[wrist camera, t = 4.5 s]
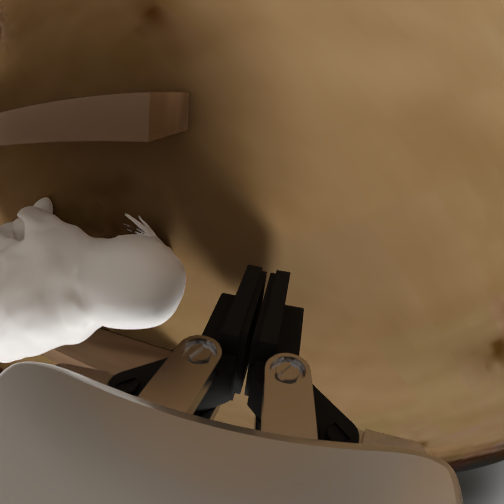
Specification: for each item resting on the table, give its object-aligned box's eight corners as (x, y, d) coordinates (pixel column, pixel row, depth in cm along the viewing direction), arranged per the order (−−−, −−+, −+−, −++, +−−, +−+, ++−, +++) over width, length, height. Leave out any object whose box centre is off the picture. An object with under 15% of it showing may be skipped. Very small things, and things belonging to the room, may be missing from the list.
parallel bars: (-43, 125, 12) (-72, 136, 10) (190, 91, 10) (150, 92, 7) (-7, 292, 20) (-28, 311, 17) (190, 372, 17) (173, 410, 15)
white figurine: (-92, 267, 6) (79, 295, 5) (12, 197, 14) (195, 177, 13) (-36, 373, 9) (159, 452, 8) (40, 287, 17) (209, 300, 15)
